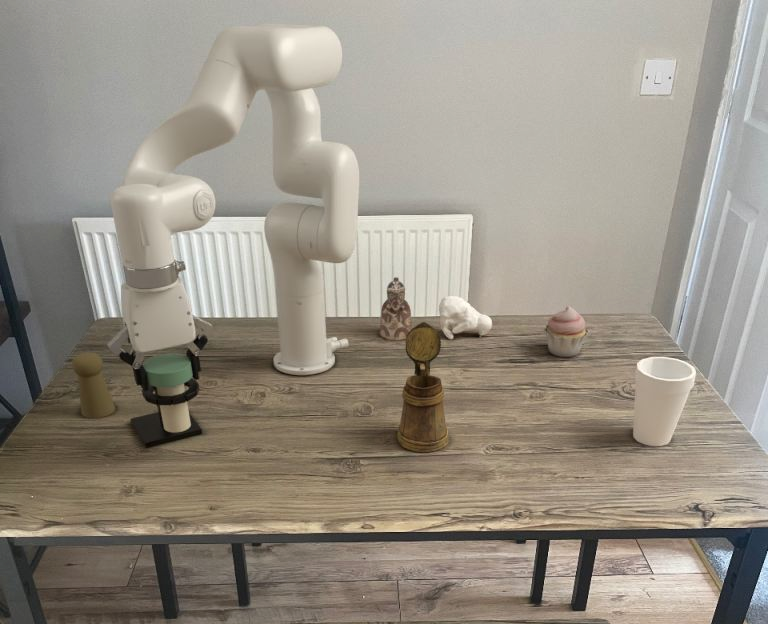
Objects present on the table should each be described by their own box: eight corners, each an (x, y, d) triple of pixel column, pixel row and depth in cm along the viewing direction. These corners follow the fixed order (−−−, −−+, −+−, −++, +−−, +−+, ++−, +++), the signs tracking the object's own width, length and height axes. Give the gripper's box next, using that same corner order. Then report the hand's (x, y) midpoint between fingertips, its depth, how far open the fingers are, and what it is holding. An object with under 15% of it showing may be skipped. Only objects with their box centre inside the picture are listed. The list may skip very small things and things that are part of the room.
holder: (184, 410, 149) (174, 350, 142) (218, 455, 136) (209, 391, 129) (131, 423, 145) (118, 362, 138) (160, 470, 132) (147, 405, 125)
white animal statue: (440, 290, 175) (495, 296, 175) (435, 327, 180) (488, 333, 180) (440, 301, 170) (496, 307, 170) (435, 338, 175) (490, 344, 175)
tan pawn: (105, 419, 146) (92, 363, 140) (75, 416, 147) (61, 361, 141) (120, 404, 151) (109, 349, 144) (91, 401, 152) (78, 347, 146)
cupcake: (552, 339, 175) (558, 294, 169) (592, 349, 170) (599, 303, 165) (533, 353, 169) (538, 308, 163) (574, 364, 164) (580, 317, 158)
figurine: (377, 338, 176) (376, 285, 169) (382, 326, 181) (382, 274, 174) (409, 341, 175) (410, 287, 168) (413, 328, 180) (414, 275, 173)
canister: (192, 411, 138) (182, 349, 132) (206, 430, 133) (197, 366, 126) (148, 421, 135) (136, 359, 129) (161, 441, 130) (149, 377, 123)
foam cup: (649, 455, 135) (664, 385, 127) (612, 431, 141) (625, 363, 134) (691, 442, 138) (708, 373, 131) (653, 419, 145) (667, 352, 138)
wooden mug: (446, 414, 147) (450, 321, 137) (449, 452, 136) (454, 353, 125) (397, 414, 147) (397, 321, 137) (397, 452, 136) (397, 353, 126)
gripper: (199, 258, 125) (213, 362, 135) (85, 276, 118) (109, 385, 129) (215, 272, 120) (228, 379, 130) (97, 292, 113) (121, 404, 123)
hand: (169, 381), depth 129 cm, fingers closed on canister, 7 cm apart
